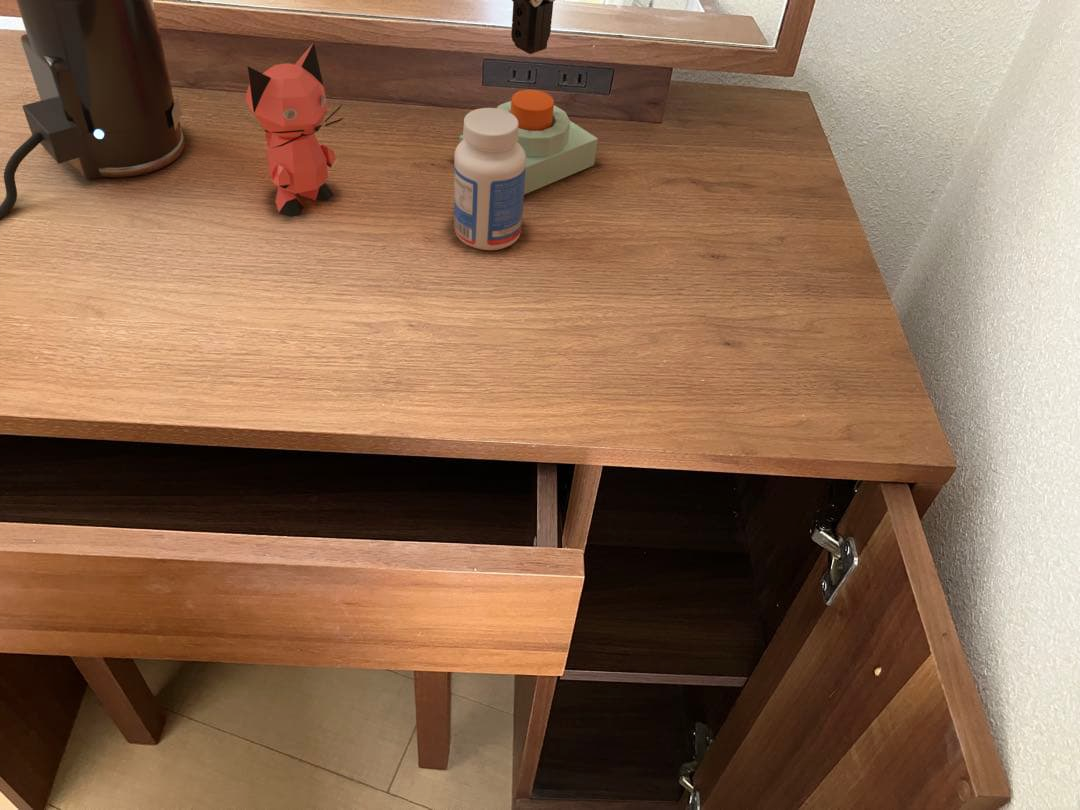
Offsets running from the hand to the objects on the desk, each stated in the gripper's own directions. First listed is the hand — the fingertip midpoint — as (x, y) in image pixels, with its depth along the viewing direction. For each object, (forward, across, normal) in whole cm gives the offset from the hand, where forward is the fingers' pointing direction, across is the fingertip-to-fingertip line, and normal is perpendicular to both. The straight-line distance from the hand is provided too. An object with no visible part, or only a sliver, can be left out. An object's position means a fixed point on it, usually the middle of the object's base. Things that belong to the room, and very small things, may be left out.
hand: (529, 48), depth 69 cm
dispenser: (+12, -3, -2) cm, 12 cm away
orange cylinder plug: (+8, -3, -2) cm, 8 cm away
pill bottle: (+12, +7, +4) cm, 14 cm away
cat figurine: (+12, +16, -10) cm, 22 cm away
